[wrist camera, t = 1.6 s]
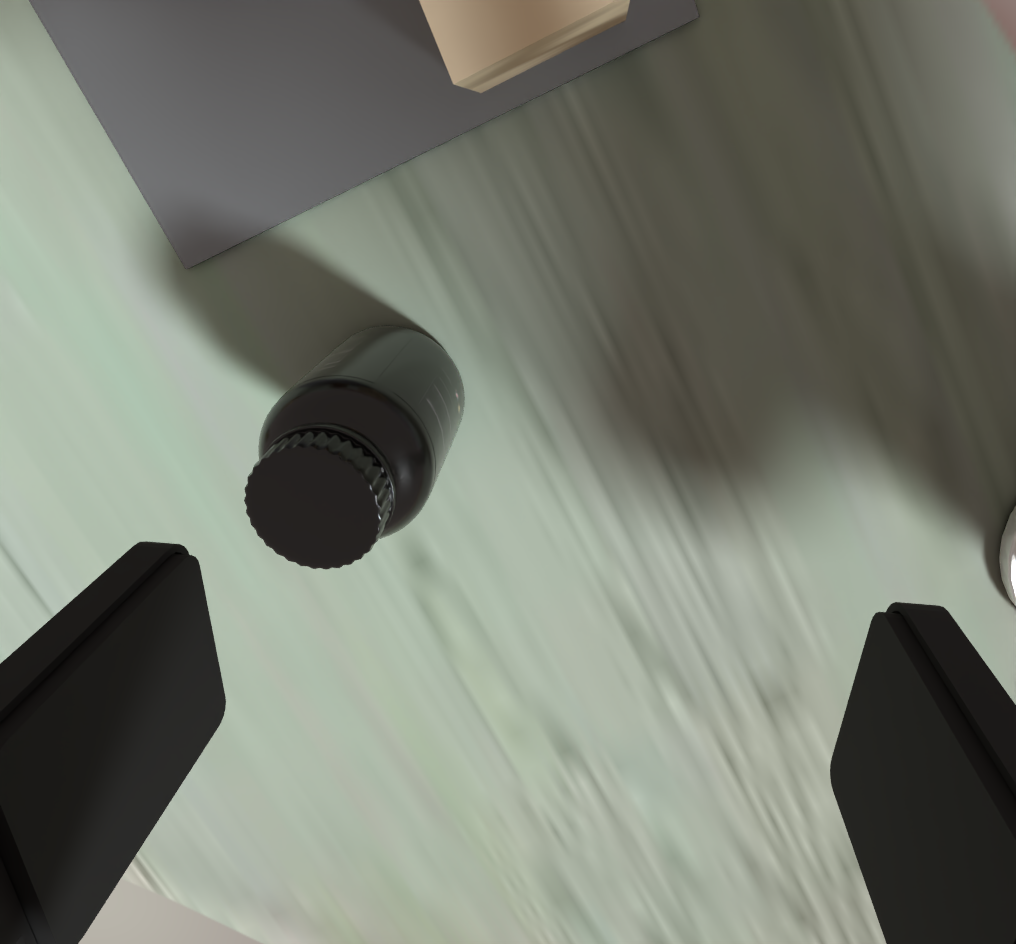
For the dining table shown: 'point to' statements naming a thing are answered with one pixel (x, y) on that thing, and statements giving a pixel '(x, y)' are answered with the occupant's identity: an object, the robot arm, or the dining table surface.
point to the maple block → (512, 34)
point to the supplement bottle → (355, 447)
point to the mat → (285, 98)
